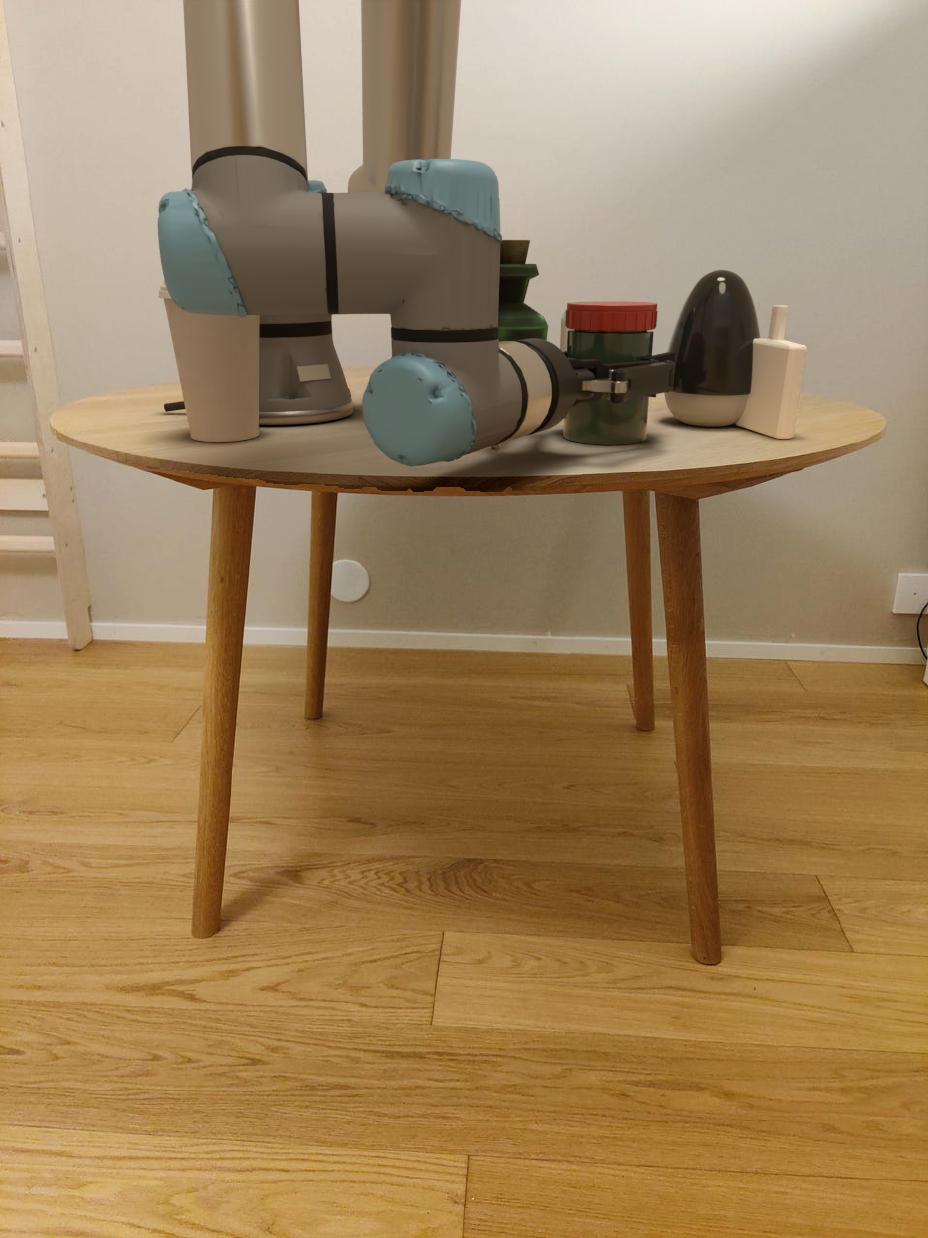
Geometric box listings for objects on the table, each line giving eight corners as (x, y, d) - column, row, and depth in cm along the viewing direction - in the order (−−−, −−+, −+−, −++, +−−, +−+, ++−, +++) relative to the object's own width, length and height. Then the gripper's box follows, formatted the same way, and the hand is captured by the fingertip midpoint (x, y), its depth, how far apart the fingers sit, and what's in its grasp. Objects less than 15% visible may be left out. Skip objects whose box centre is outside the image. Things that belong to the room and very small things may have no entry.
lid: (551, 329, 84) (552, 303, 84) (584, 323, 91) (585, 300, 91) (640, 332, 81) (641, 306, 80) (667, 326, 88) (668, 302, 87)
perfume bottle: (795, 438, 89) (815, 308, 85) (777, 439, 89) (796, 308, 84) (750, 424, 96) (766, 302, 92) (733, 424, 96) (749, 302, 91)
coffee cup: (241, 424, 96) (228, 271, 91) (294, 436, 90) (283, 272, 85) (156, 435, 90) (136, 272, 85) (206, 449, 84) (188, 273, 78)
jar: (550, 440, 88) (555, 310, 84) (580, 427, 95) (586, 306, 91) (630, 447, 85) (639, 313, 80) (656, 434, 91) (666, 308, 87)
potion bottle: (458, 413, 103) (457, 240, 97) (514, 406, 108) (517, 240, 101) (502, 423, 97) (505, 239, 91) (560, 415, 102) (567, 239, 95)
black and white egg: (737, 414, 103) (752, 268, 97) (772, 430, 93) (792, 269, 88) (647, 415, 102) (658, 268, 97) (673, 431, 93) (686, 270, 87)
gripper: (409, 425, 80) (535, 394, 98) (632, 450, 70) (728, 411, 87) (407, 335, 77) (537, 320, 95) (639, 347, 67) (736, 328, 85)
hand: (628, 364), depth 91 cm, fingers closed on jar, 8 cm apart
